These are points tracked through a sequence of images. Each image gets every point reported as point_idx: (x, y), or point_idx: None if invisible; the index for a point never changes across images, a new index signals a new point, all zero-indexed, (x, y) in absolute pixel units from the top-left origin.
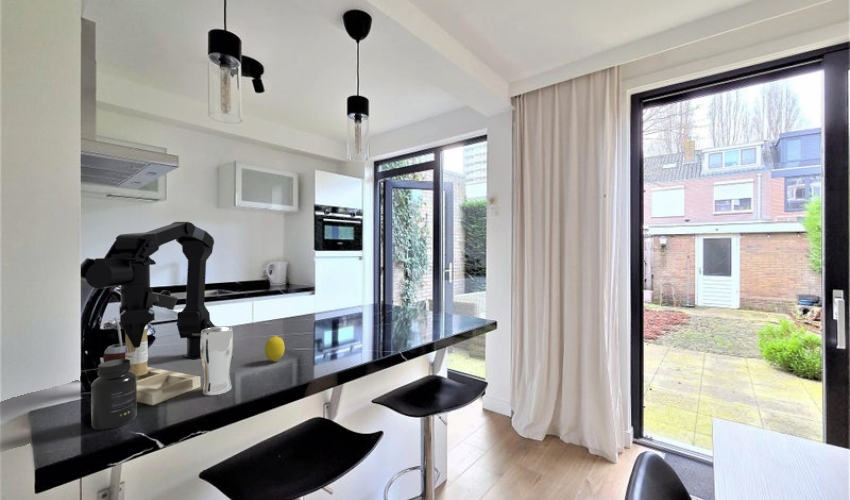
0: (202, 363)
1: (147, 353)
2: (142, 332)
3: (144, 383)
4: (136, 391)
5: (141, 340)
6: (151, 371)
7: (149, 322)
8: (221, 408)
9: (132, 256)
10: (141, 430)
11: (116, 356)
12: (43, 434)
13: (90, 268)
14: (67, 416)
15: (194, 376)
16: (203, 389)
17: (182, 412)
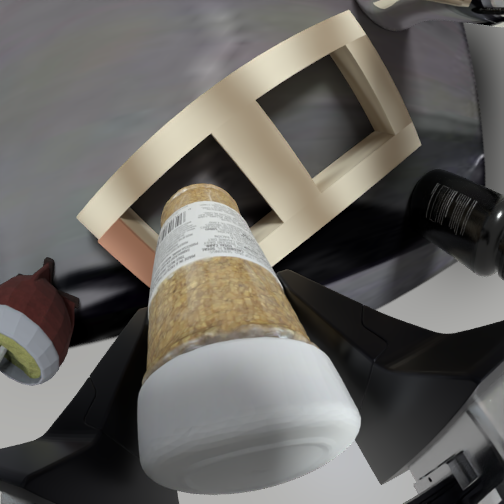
0: (463, 21)
1: (206, 214)
2: (381, 317)
3: (307, 173)
4: (480, 185)
5: (278, 289)
6: (158, 176)
7: (499, 323)
8: (464, 39)
9: None
10: (474, 158)
11: (60, 340)
12: (400, 293)
13: None
14: (347, 294)
15: (337, 22)
16: (397, 27)
17: (455, 93)
